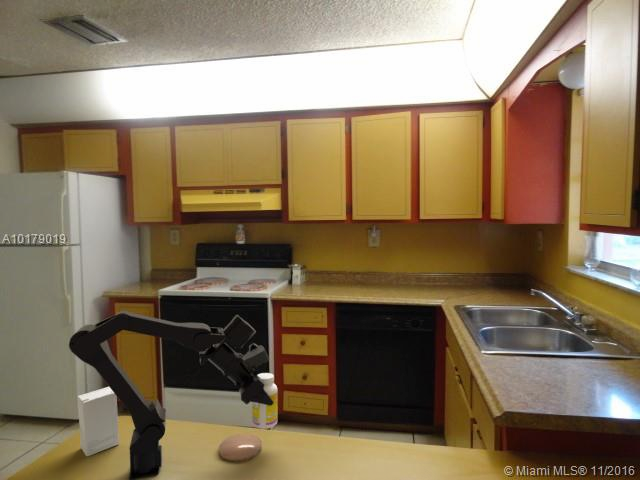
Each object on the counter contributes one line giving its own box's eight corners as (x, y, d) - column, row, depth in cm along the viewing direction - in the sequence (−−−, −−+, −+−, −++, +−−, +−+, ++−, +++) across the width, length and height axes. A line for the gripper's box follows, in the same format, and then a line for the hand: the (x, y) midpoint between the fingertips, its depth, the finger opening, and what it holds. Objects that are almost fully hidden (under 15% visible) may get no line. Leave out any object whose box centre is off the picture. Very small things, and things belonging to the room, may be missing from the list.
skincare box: (112, 437, 111) (111, 385, 111) (119, 445, 107) (118, 391, 106) (78, 449, 105) (76, 394, 105) (84, 458, 101) (82, 401, 101)
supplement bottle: (279, 418, 108) (280, 372, 108) (274, 430, 101) (274, 381, 101) (255, 417, 109) (256, 370, 108) (249, 429, 102) (249, 379, 102)
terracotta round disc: (220, 465, 97) (220, 460, 97) (218, 442, 108) (217, 437, 108) (264, 456, 101) (264, 451, 101) (258, 435, 111) (258, 430, 111)
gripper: (255, 347, 94) (299, 388, 98) (246, 329, 112) (283, 364, 116) (221, 383, 92) (268, 424, 96) (217, 359, 110) (256, 393, 114)
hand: (270, 398), depth 105 cm, fingers closed on supplement bottle, 7 cm apart
